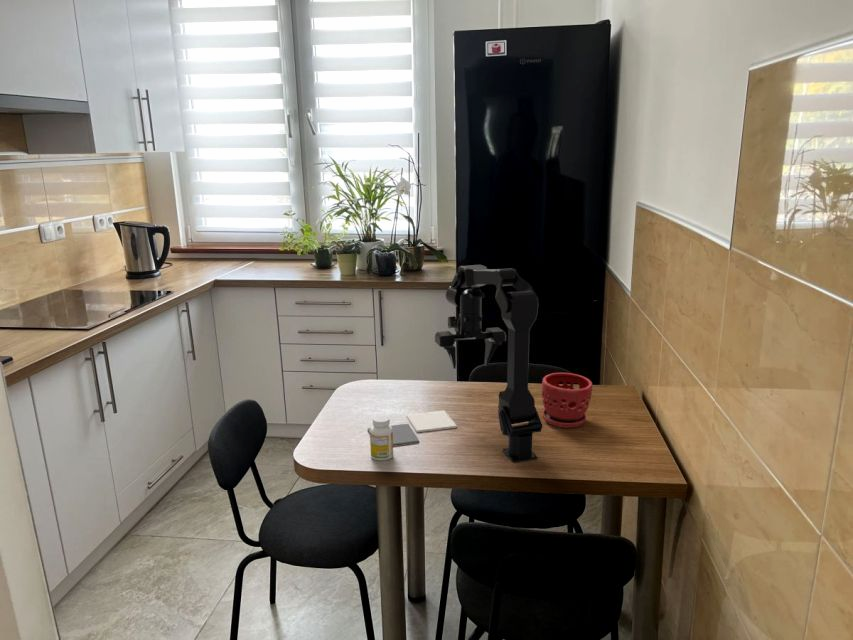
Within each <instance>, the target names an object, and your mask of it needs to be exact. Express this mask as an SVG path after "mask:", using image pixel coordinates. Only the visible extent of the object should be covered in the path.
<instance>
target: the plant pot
mask: <svg viewBox="0 0 853 640" xmlns="http://www.w3.org/2000/svg"><path fill="white" fill-rule="evenodd" d="M560 382H562V385H560V384H559V383H560ZM568 383H570V384H568ZM574 384H578V387H579V388H578V389H577V388H574ZM592 393H593V382H592V381H591V380H590V379H589V378H587V377H585V376H583V375H580V374H576V373H571V372H553V373H549V374H547V375H545V376H544V377H543V378H542V382H541V400H542V404H543V407H544V408H543V409H544V410H542V418H543V419H544V420H545V422H547V423H548V424H550V425H552V426H554V427H555V426H556V427H559V428H576V427H579V426H582V425H583V424H584V423H585V422H586V420H587V415H586V413H587V411H588V408H589V406H590V402H591V399H592Z"/></svg>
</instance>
